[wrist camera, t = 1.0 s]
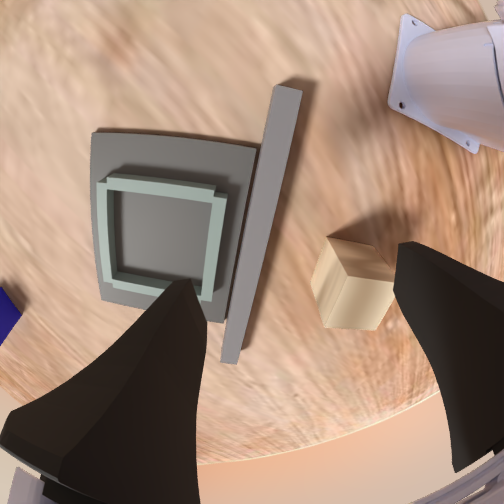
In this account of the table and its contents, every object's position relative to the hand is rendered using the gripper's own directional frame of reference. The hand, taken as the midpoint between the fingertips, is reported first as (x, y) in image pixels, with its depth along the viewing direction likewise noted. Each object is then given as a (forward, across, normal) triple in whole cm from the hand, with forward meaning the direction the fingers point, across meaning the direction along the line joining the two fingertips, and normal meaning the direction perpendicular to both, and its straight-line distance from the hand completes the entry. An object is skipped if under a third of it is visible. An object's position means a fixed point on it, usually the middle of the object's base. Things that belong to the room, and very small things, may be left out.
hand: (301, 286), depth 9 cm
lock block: (+10, -4, +6) cm, 12 cm away
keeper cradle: (+10, +8, +1) cm, 13 cm away
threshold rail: (+10, +2, +4) cm, 10 cm away
